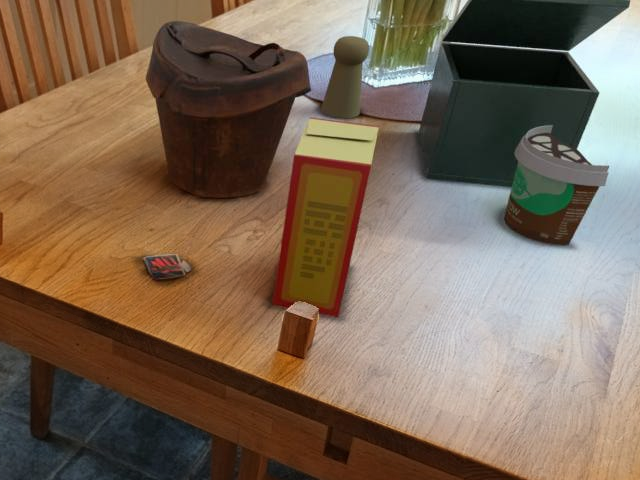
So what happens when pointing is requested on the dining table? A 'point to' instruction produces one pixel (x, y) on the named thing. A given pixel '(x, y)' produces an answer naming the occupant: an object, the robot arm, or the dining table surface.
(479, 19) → the bin lid
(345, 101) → the olive pawn figure
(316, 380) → the dining table surface
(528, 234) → the food container
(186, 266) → the matchbox
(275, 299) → the baking soda box
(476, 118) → the waste bin
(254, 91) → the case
